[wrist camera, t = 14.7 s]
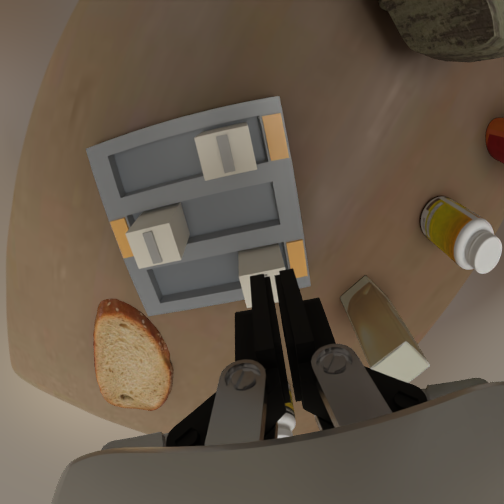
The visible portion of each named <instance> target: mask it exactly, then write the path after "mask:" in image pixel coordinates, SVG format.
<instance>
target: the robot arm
mask: <svg viewBox="0 0 504 504" xmlns="http://www.w3.org/2000/svg"><path fill="white" fill-rule="evenodd" d="M279 274H280V275H274V277H275V283H276V289H277V295H278V301H279V307H280V313H281V319H282V326H283V332H284V337H285V343H286V348H287V354H288V360H289V365H290V371H291V377H292V382H293V388H294V394H295V400H296V402H297V401H302V405H303V409H304V410H306V411H308V412H310V413H312V414H314V415H315V420H316V422H317V425H318V427H319V430H320V431H318V432H312V433H307V434H302V435H296V436H290V437H283V438H277V437H278V420H279V419H280V418H281V417H282V416H283V415H284V414H285V413H286V406H285V403H291V399H290V393H289V387H288V381H287V375H286V368H285V362H284V356H283V350H282V344H281V338H280V332H279V326H278V320H277V315H276V309H275V303H274V297H273V291H272V286H271V280H270V276H269V277H264V274H258V275H253V276H250V287H251V301H252V310H247V311H240V312H236V313H235V362H233V363H231V364H229V365H228V366H226V368H225V369H224V370H223V371H222V373H221V375H220V378H219V383H218V387H217V392H215V393H214V394H213V395H212V396H211V397H210V398H208V399H207V400H206V401H205V402H204V403H203V404H201V405H200V406H199V407H198V408H197V409H195V410H194V411H193V412H192V413H191V414H189V415H188V416H187V417H186V418H185V419H183V420H182V421H181V422H180V423H178V424H177V425H176V426H175V427H174V428H173V429H172V430H171V431H170V432H169V433H167V434H163V433H162V432H158V433H153V434H148V435H143V436H138V437H133V438H127V439H122V440H115V441H112V442H109V443H107V444H106V445H105V446H103V448H102V450H101V451H96V452H93V453H89V454H86V455H83V456H81V457H79V458H77V459H75V460H73V461H72V462H71V463H69V465H68V466H67V467H66V468H65V470H64V471H63V473H62V475H61V477H60V479H59V482H58V484H57V487H56V490H55V493H54V496H53V500H52V504H504V382H503V381H502V382H490V383H488V382H487V381H486V380H484V379H481V378H472V379H466V380H461V381H454V382H449V383H442V384H435V385H427V388H426V389H420V388H419V387H417V386H415V385H412V384H410V383H407V382H404V381H401V380H399V379H396V378H393V377H391V376H388V375H385V374H383V373H380V372H378V371H375V370H372V369H370V368H367V367H365V366H363V364H362V362H361V361H360V359H359V358H358V356H357V354H356V353H355V352H354V351H353V350H352V349H351V348H350V347H348V346H346V345H342V344H336V343H335V340H334V337H333V334H332V331H331V329H330V326H329V323H328V320H327V317H326V315H325V312H324V309H323V306H322V304H321V301H320V299H319V298H314V299H309V300H304V301H303V300H302V296H301V293H300V290H299V286H298V283H297V279H296V276H295V273H294V269H293V268H292V269H287V270H281V271H279Z"/></svg>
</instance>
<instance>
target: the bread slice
mask: <svg viewBox="0 0 504 504" xmlns="http://www.w3.org/2000/svg"><path fill="white" fill-rule="evenodd" d="M93 336H94V362H95V363H94V364H95V372H96V378H97V382H98V384H99V387H100V391H101V393H102V395H103V397H104V399H105V400H106V401H107V402H108V403H110V404H112V405H114V406H119V407H123V408H136V409H143V410H148V411H152V410H156V409H158V408H159V407H161V406H162V405H163V404H164V403H165V401H166V400H167V398H168V396H169V394H170V392H171V388H172V381H173V367H172V365H171V363H170V353H169V351H168V348H167V345H166V343H165V341H164V340H163V338H162V336H161V334H160V333H159V331H158V330H157V328H156V327H155V326H154V325H153V324H152V323H151V321H150V320H149V319H148V318H147V317H146V316H145V315H144V314H142V313H141V312H140V311H138V310H137V309H136V308H134V307H132V306H131V305H129V304H127V303H125V302H122V301H119V300H117V299H107V300H103V301H101V302H100V304H99V307H98V310H97V316H96V319H95V327H94V334H93Z"/></svg>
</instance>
